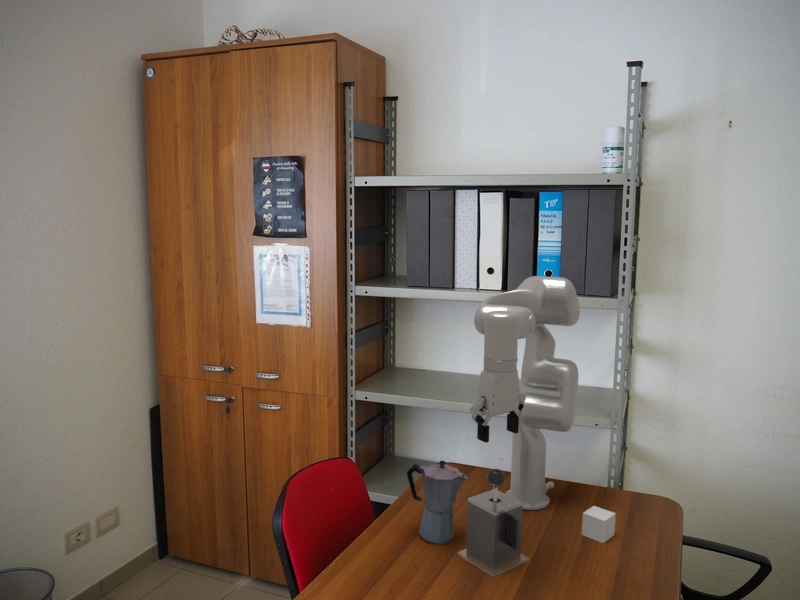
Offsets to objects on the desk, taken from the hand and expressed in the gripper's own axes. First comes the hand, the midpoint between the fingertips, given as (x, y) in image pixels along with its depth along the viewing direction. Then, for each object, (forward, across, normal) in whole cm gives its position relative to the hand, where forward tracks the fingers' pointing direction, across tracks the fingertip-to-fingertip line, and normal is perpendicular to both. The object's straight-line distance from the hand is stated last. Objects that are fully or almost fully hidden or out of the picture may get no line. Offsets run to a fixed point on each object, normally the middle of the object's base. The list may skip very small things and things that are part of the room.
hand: (497, 436), depth 146 cm
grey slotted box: (+30, +1, 0) cm, 30 cm away
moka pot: (+30, +5, -16) cm, 34 cm away
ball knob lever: (+25, +1, 0) cm, 25 cm away
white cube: (+31, -29, +8) cm, 43 cm away
